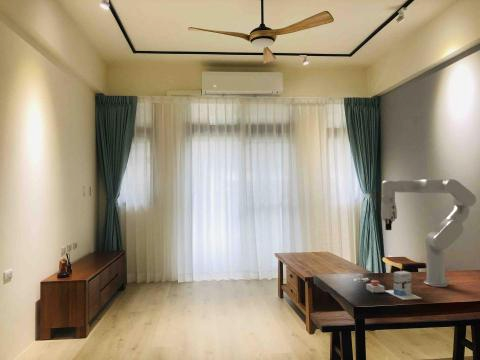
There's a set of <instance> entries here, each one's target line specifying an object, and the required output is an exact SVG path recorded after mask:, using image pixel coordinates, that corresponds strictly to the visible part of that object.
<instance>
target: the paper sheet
mask: <svg viewBox="0 0 480 360" xmlns="http://www.w3.org/2000/svg"><path fill="white" fill-rule="evenodd" d="M384 293H388V294H390V295H392V296H394V297H396V298H398V299H400V300H402V301H404V300H405V301H406V300H408V301H409V300H422V299H423V298H422V297H420V296H417V295H415V294H413V293H411V294H409V295H404V296H399V295H396V294H394V289H389V290H386V289H385V290H384Z"/></svg>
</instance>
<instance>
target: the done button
mask: <svg viewBox="0 0 480 360" xmlns="http://www.w3.org/2000/svg"><path fill="white" fill-rule="evenodd" d="M370 284H372V286H378V284H380V280H377V279H376V280H375V279H372V280H370Z"/></svg>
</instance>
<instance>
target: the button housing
mask: <svg viewBox="0 0 480 360" xmlns="http://www.w3.org/2000/svg"><path fill="white" fill-rule="evenodd" d="M365 289H366V291H370V292H371V293H374V292H375V293H385V286H384V285H382V284H380V283H378V286H372V283H366V284H365Z"/></svg>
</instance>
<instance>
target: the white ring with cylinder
mask: <svg viewBox="0 0 480 360" xmlns="http://www.w3.org/2000/svg"><path fill="white" fill-rule="evenodd" d="M356 277H357V278H353V281H354V282H359V283H361V282H362V283H366V282H368V281H370V279H369V278H368V277H365V278H363V277H364V276H363V273H362V274H361V273H358V274H356Z"/></svg>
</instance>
